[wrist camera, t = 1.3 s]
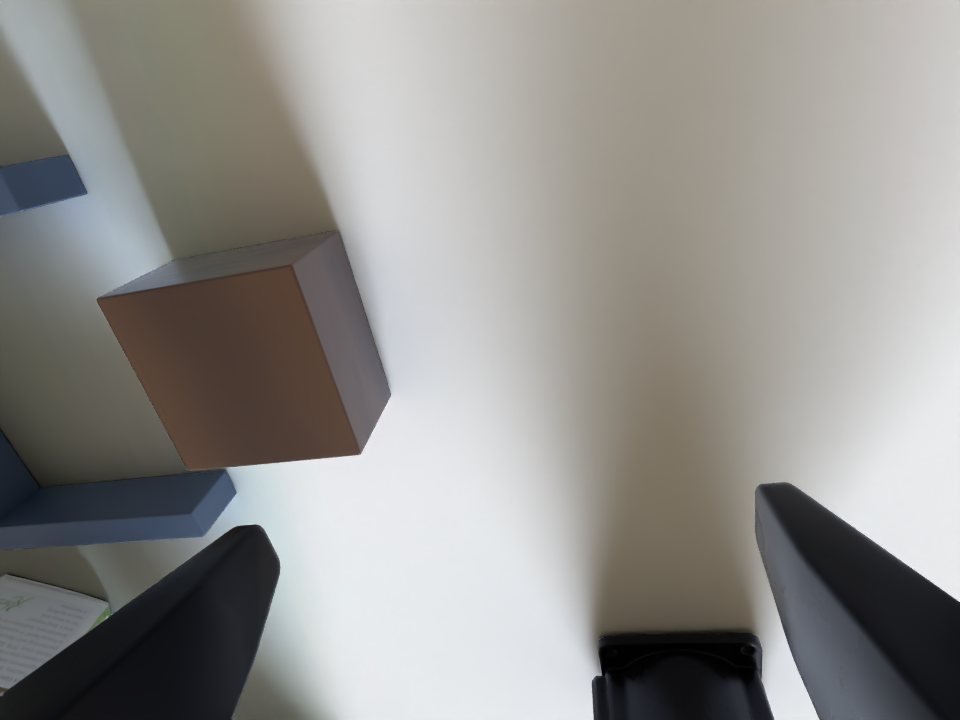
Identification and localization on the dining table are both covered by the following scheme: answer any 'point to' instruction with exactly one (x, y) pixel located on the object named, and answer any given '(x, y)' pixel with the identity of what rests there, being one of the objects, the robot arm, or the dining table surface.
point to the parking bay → (103, 505)
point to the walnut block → (254, 353)
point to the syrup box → (40, 624)
